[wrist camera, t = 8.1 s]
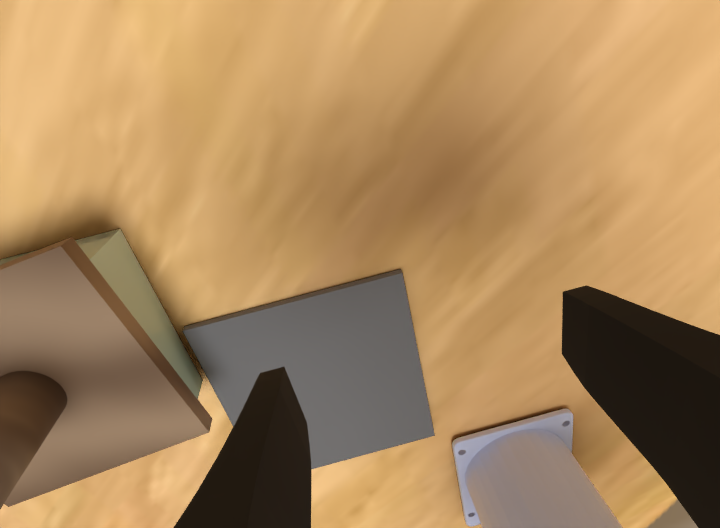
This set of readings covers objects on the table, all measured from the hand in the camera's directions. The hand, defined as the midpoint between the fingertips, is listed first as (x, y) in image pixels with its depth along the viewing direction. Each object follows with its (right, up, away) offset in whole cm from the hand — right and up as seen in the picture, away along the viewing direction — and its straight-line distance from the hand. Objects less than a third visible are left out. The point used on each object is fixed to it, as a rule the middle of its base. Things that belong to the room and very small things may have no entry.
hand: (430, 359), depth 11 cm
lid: (-15, -3, +7) cm, 17 cm away
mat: (-4, -4, +13) cm, 14 cm away
